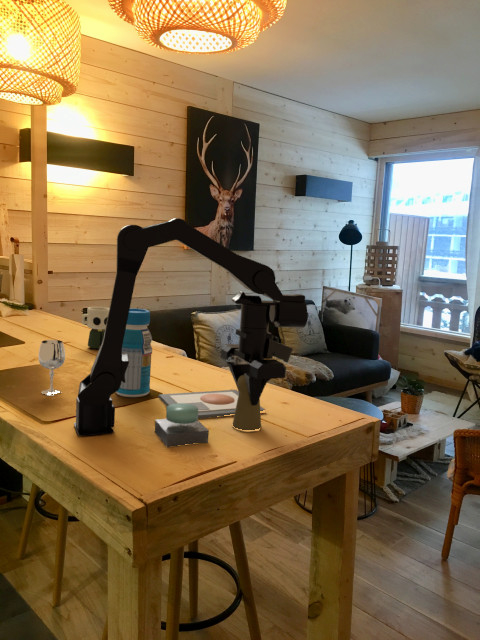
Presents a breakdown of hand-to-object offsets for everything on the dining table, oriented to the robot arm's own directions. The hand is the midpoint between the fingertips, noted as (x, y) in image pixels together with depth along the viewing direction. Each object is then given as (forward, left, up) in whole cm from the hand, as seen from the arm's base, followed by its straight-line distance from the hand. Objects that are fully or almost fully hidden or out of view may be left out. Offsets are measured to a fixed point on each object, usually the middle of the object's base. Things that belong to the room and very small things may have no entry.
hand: (248, 401), depth 111 cm
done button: (-15, -2, -2) cm, 15 cm away
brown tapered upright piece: (0, 0, -6) cm, 6 cm away
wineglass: (-35, +32, -6) cm, 48 cm away
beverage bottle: (-17, +28, -6) cm, 33 cm away
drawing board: (-2, +15, -6) cm, 16 cm away
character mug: (-16, +78, -6) cm, 80 cm away
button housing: (-15, -2, -6) cm, 16 cm away
